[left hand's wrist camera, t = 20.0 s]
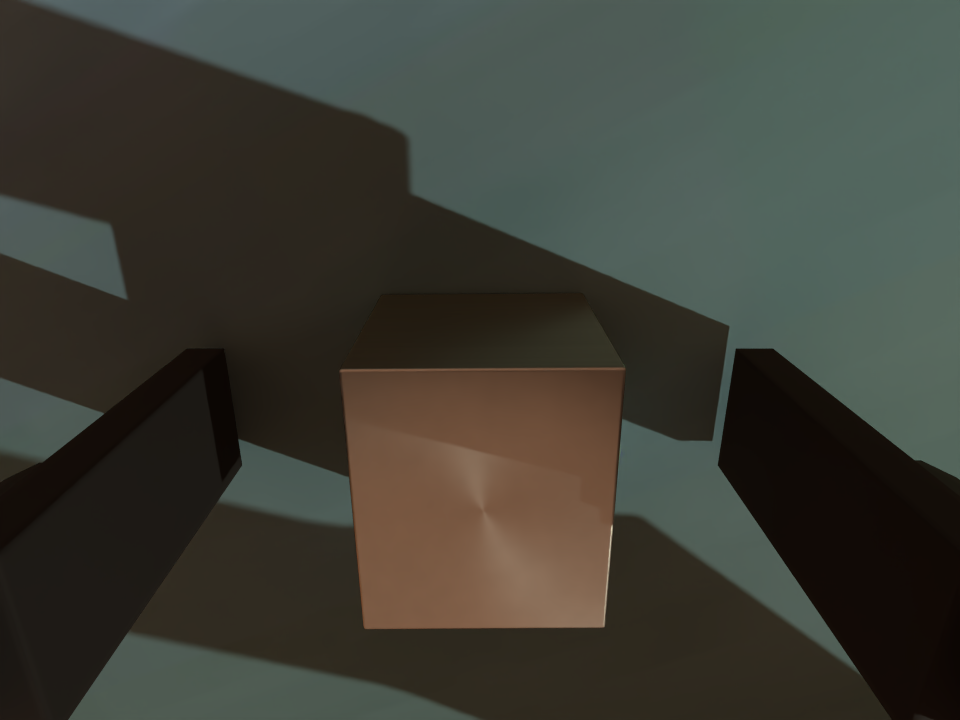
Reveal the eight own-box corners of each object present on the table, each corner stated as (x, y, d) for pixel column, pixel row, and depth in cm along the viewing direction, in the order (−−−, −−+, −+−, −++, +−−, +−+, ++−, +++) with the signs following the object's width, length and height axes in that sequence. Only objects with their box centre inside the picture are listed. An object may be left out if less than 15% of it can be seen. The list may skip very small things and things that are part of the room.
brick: (572, 493, 15) (605, 629, 11) (394, 495, 15) (362, 630, 11) (583, 292, 13) (627, 367, 9) (380, 293, 13) (338, 369, 9)
